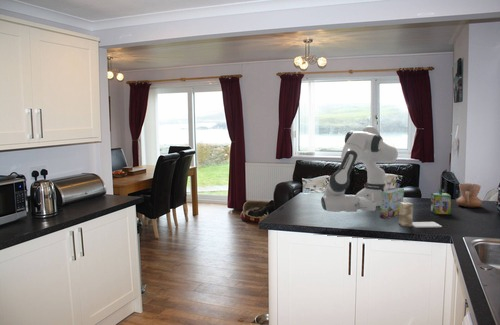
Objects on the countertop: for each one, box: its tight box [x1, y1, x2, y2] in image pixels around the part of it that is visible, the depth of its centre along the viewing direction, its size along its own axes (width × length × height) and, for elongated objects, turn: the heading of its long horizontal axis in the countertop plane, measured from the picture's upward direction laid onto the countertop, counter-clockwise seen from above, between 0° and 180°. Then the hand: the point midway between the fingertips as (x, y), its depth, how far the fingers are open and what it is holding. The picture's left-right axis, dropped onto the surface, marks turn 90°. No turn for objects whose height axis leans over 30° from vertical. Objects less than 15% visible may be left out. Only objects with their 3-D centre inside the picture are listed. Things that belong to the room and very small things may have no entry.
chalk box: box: [430, 187, 452, 215], centre depth 240 cm, size 9×9×15 cm
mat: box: [412, 221, 443, 229], centre depth 213 cm, size 14×9×1 cm, turn 91°
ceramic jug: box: [456, 182, 483, 209], centre depth 257 cm, size 18×14×14 cm
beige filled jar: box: [398, 201, 414, 228], centre depth 212 cm, size 5×5×12 cm
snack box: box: [379, 187, 405, 220], centre depth 236 cm, size 21×6×15 cm, turn 138°
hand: (378, 203), depth 211 cm, fingers closed
